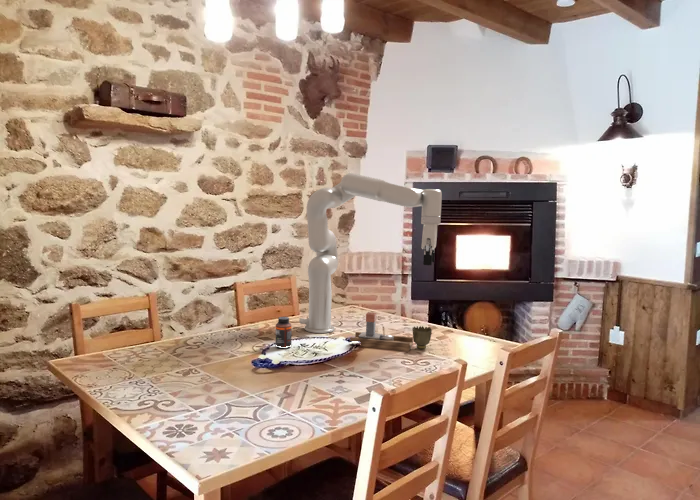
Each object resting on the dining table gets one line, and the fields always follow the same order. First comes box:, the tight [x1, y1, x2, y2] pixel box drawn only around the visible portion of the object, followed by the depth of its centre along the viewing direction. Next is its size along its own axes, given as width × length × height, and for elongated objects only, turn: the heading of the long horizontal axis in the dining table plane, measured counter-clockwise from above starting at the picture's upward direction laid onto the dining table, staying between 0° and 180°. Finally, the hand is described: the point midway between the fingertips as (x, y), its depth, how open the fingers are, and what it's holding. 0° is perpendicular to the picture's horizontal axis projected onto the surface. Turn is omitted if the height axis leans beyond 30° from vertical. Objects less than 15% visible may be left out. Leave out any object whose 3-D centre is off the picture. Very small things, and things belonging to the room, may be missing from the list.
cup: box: [411, 325, 433, 350], centre depth 214 cm, size 8×7×8 cm
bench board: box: [349, 331, 414, 352], centre depth 218 cm, size 23×10×3 cm, turn 75°
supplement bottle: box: [275, 316, 293, 347], centre depth 210 cm, size 6×6×11 cm
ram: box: [359, 311, 395, 341], centre depth 218 cm, size 13×6×10 cm, turn 75°
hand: (428, 263), depth 223 cm, fingers open, 9 cm apart
